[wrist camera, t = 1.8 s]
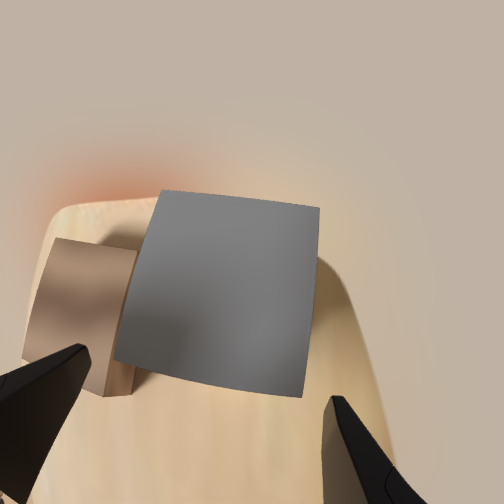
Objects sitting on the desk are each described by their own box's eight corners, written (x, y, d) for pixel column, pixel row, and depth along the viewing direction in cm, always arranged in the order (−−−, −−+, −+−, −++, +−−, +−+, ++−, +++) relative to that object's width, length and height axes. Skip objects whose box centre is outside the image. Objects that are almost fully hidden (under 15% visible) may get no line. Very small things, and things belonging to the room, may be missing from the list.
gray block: (289, 391, 13) (302, 397, 9) (147, 365, 13) (112, 359, 10) (306, 246, 16) (319, 207, 13) (179, 229, 17) (161, 189, 13)
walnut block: (131, 394, 18) (103, 397, 14) (54, 364, 19) (21, 358, 15) (157, 273, 22) (137, 250, 18) (81, 259, 23) (55, 237, 19)
